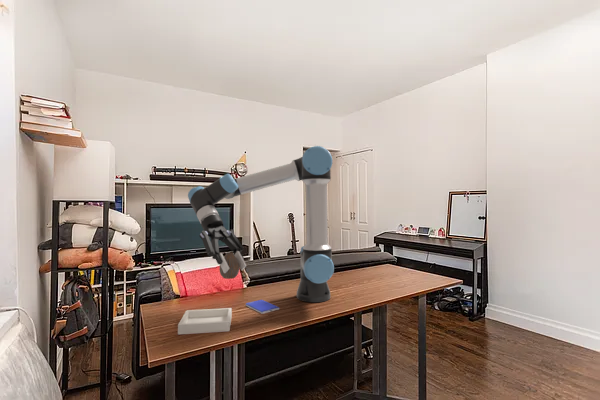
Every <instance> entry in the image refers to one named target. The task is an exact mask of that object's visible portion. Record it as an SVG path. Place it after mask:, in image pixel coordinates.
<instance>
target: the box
mask: <svg viewBox="0 0 600 400" xmlns="http://www.w3.org/2000/svg"><path fill="white" fill-rule="evenodd" d="M232 310H233V309H232V307H223V308H209V309H208V308H205V309H202V308H201V309H188V310H185V312H184V313H183V316H182V317H181V319H180V321H179V322H178V324H177V335H192V334H206V333H208V334H210V333H221V332H230V329H231V323H232V315H233V313H232V312H233V311H232Z"/></svg>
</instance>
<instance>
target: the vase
mask: <svg viewBox="0 0 600 400" xmlns="http://www.w3.org/2000/svg"><path fill="white" fill-rule="evenodd" d="M224 258H225V260H226V262H227V264H228V266H229V270H228V271H227V272H226V273H224V272H223V270H222V268H221V266H220V265H219V273H220V275H221V277H222V279H225V280H232V279H235V278H236V277H237V276H238V275H239V272H240V267H239V262H238V260H237V258H236V257H235V254H234V253H233V252H232V251H231V252H226V253H225V255H224Z"/></svg>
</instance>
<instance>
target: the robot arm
mask: <svg viewBox="0 0 600 400" xmlns="http://www.w3.org/2000/svg"><path fill="white" fill-rule="evenodd" d="M332 166H333V157H332V154H331V152H330V151H329V149H327V148H325V147H323V146H321V145H315V146H311V147H309V148H308V149H306V150H305V151H304V153H303V155H302V156H301V157H299V158H296V159H293V160H291V162H290V163H287V164H284V165H280V166H277V167H273V168H268V169H266V170H262V171H259V172H258V171H257V172H254V173H251V174H248V175H244V176H240V177H237V178H233V176H232V175H231V174H230V173H225V174H224V175H223V176H220V177H219V178H218V179H217V180H214V182H212V183H211V184H209V185H208V186H206V187H204V186H196V187H192V188H191V189H190V190H189V191H188V194H187V198H188V201H189V203H190V206H191V207H192V210H193V211H194V213H195V215H196V217H197V220H198V221H199V223H200V225H201V226H200V227H202V229H203V230H202V231H201V232H200V234H199V238H201V240H202V243H203V245H204V248H205V252H206V254H207V256H208V257H209V258H210V257H211V258H212V260H215V262H216V263H217V265H219V267H220V266H221V268H222V270H223V272H224V273H226V272H227V271H228V270H229V266H228V264H227V262H226V260H225V258H224V257H225V255H223V252H220V246H219V241H221V243H224V244H225V245H226V246H227V248H228V249H229V250H230V251H231V252H233V253H234V255H235V257H236V258H237V260H238V262H239V270H240V271H244V270H245V268H246V267H247V264H246V263H247V262H246V261H245V260H244V258H245V257H244V255H243V253H242V251H243V250H244V246H243V245H242V244H241V242H240V240H239V239H238V237H237V236H236V234H235V231H234V229H230V230H228V229H227V228H225V226H224V222H223V220H222V217H221V215H220V214H219V212H218V210H217V208H216V207H215V205H216V204H217V203H219V202H220V201H222V200H224V199H227V200H228V199H229V200H230V199H232V198H235V197H238V196H241V195H245V194H249V193H252V192H256V191H259V190H264V189H265V188H270V187H274V186H277V185H281V184H284V183H287V182H291V181H298V182H299V181H300V182H301V181H302V182H303V183H304V184H305V208H306V209H305V212H306V213H305V216H306V217H305V218H306V219H305V221H306V224H305V225H306V226H305V228H306V244H305V245H304V246H301V247H300V252H299V253H300V279H299V285H298V287H297V290H296V298H297V300H299V301H302V302H305V303H321V302H327V301H329V300H330V299H331V290H330V286H329V284H328V281H330V279H331V278H332V277H333V275H334V272H335V266H334V265H335V264H334V262H333V258H332V255H333V254H332V253H333V251H332V250H333V249H332V246H331V245H330V244H329V243H328V241H329V237H328V233H329V232H328V229H329V228H328V226H329V225H328V184H329V183H330V182H331V178H332V177H331V172H332V171H331V169H332Z"/></svg>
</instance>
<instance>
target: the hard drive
mask: <svg viewBox="0 0 600 400" xmlns="http://www.w3.org/2000/svg"><path fill="white" fill-rule="evenodd" d="M245 306H246V307H248V308H249V309H251V310H253V311H256V312H257V313H259V314H267V313H270V312H274V311H279V310H280V307H279V306H277V305H275V304H272V303H270V302H269V301H265V300H263V299H259V300H255V301H250V302H246V303H245Z"/></svg>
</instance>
